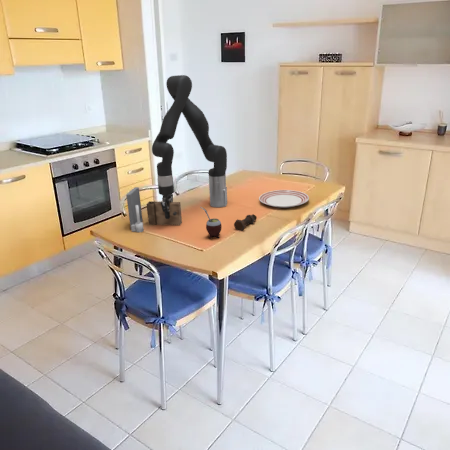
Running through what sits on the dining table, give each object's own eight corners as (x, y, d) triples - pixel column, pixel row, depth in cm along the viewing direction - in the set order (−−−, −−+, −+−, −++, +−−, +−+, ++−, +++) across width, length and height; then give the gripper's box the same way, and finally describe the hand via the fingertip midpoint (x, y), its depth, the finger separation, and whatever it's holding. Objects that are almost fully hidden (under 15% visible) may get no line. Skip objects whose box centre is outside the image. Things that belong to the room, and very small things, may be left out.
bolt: (255, 224, 215) (240, 233, 204) (248, 218, 217) (232, 227, 205) (260, 215, 212) (245, 224, 200) (253, 209, 213) (237, 218, 202)
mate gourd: (225, 236, 198) (223, 205, 192) (212, 241, 192) (211, 210, 187) (213, 232, 203) (212, 202, 197) (201, 237, 197) (199, 206, 192)
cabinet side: (151, 221, 219) (148, 187, 213) (142, 232, 206) (138, 196, 199) (138, 221, 220) (134, 187, 214) (128, 232, 207) (124, 196, 200)
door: (182, 222, 216) (180, 201, 212) (179, 226, 211) (177, 205, 207) (151, 221, 219) (149, 201, 215) (148, 225, 214) (145, 204, 210)
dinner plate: (293, 214, 222) (293, 208, 221) (249, 205, 238) (249, 199, 236) (317, 199, 242) (317, 194, 241) (275, 192, 258) (275, 187, 256)
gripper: (169, 188, 200) (172, 222, 207) (176, 179, 213) (179, 212, 220) (153, 187, 202) (157, 222, 208) (162, 179, 215) (165, 212, 221)
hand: (168, 216), depth 214 cm, fingers closed on door, 3 cm apart
